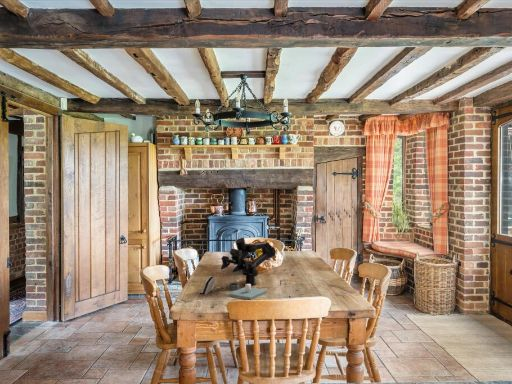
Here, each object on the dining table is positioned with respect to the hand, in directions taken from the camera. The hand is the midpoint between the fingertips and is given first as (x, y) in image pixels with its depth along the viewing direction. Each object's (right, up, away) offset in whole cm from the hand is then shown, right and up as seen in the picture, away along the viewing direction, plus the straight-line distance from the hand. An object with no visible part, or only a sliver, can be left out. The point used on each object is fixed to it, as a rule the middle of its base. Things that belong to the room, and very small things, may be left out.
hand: (227, 270), depth 252 cm
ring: (+4, -14, +9) cm, 17 cm away
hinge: (-12, -14, +5) cm, 19 cm away
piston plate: (+13, -14, -4) cm, 19 cm away
